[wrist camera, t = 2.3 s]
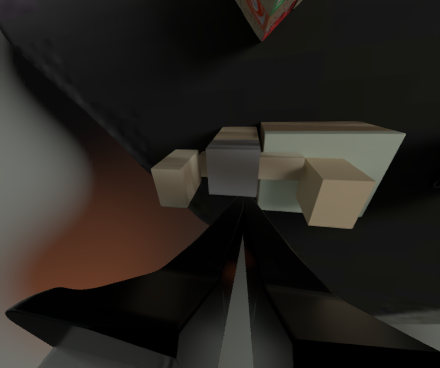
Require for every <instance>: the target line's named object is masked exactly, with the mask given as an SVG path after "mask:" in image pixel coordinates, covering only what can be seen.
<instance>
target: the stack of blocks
mask: <svg viewBox="0 0 440 368" xmlns="http://www.w3.org/2000/svg"><path fill="white" fill-rule="evenodd" d="M235 1H236V2H237V4H238V6H239V7H240V9H241V10H242V12H243V14H244V16H245V17H246V19H247V21H248V22H249V24H250V26H251V27H252V29H253V30H254V32H255V33H256V35H257V36H258V38H259V39H260V41H263V40H264V39H265V38H266V37H267V36H268V35H269V34H270V33H271V32H272V31H273V29H274V28H275V27H276V26H277V25H278V24H279V23H280V22H281V21H282V20H283V19H284V17H285V16H286V15H287V14H288V13H289V12H290V11H291V9H294V8H295V7H296V6H297V5H298V4H299V3H300V2H301V1H302V0H235Z"/></svg>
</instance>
